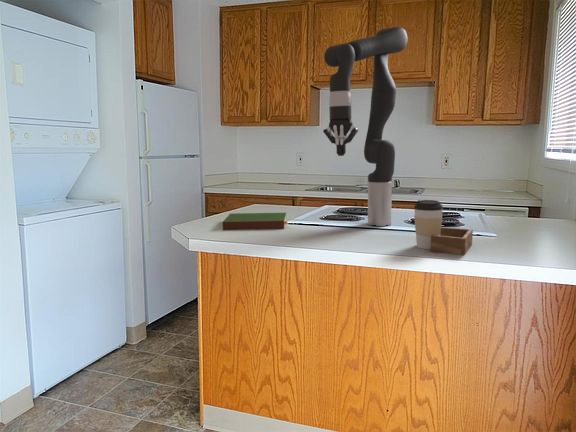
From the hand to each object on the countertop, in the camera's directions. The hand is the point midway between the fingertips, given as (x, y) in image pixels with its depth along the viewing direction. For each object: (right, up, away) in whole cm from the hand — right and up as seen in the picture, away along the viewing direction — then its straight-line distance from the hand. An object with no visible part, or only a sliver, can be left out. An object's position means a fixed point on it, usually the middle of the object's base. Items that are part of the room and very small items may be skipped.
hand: (341, 155), depth 165 cm
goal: (+33, -31, -17) cm, 49 cm away
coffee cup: (+26, -31, -14) cm, 43 cm away
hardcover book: (-32, -26, +29) cm, 50 cm away
